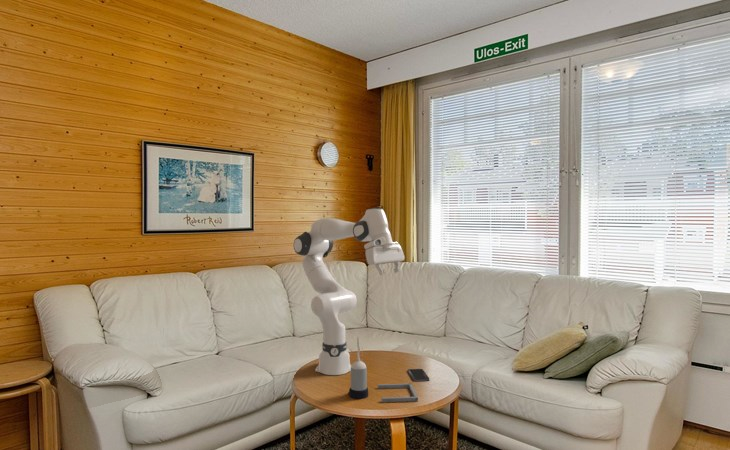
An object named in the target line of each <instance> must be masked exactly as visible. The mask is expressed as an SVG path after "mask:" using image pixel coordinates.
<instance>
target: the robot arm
mask: <svg viewBox="0 0 730 450" xmlns="http://www.w3.org/2000/svg"><path fill="white" fill-rule="evenodd" d="M389 228H390V227H389V221H388V219H387V214H386V212H385V210H384V209H383V208H381V207H371V208H368V209H366V210H365V214H364V215H363V216H362V218H360V219H359V221H357V222H351V221H347V220H342V219H340V218H339V219H338V218H334V217H333V218H330V217H328V218H327V217H326V218H321V219H320V218H319V219H316V220H315V221H313V223H312V224H311V228H310V231H309V232H307V231H304V232H302V234H299V235H298V236H296V237H295V238H294V240H293V249H294V251H295V253H296V254H297V255H299V256H304V257H303V259H302V260H301V261H302V262H301V264H302V267H303V271H304V273H305V275H306V276H305V277H307V279H308V281H309V283H310V285H311V287H312V288H313V290H314V291H315V292H317V293H319V294H318V295H316V296H314V297H313V298H312V299H311V303H310V309H311V311H312V313H313V314H314V315H315V316H317V317H318V319H319V321H320V323H321V326H322V340H323V341H322V344H321V348H322V351H321V352H320V353H319V355H318V358H319V359H318V365H317V366H316V368H315V370H314V371H315V373H316V372H317V373H321V374H323V375H326V376H339V375H345V374H347V373H349V372H351V366H352V364H351V360H350V353H349V351H348V350H347V347H348V345H347V340H346V339H347V338H346V336H347V335H346V334H347V333H346V330H347V329H346V326H345V324H344V323H342V322H341V321H340V319H339V317H338V316H339V314H345V313H349V312H350V311H352V310H354V309H355V308H356V307H357V303H358V301H357V299H358V298H357V296H356V294H355V293H354V292H353V291H351V290H349V289H346V288H345V287H343V286H342V285H341V284H340V283H339V282H338V281H337V280H335V279H334V276H333V275H332V274H331V273H330V271H329V269H328V267H327V265H326V264H325V263H324V260H323V258H326V257H328V255H329V254H330V253H331V251H332V250H333V248H334V241H338V240H343V239H348V238H353V237H354V239H355V240H356V241H358V242H367V243H365V244H364V246H363V247H364V250H365V259H366V262H367V265H368V266H375V268H376V270H377V271H378V273H379V275H380V276H381V275H382V276H383V275H384V274H385V273H386V272H385V269H383V268H382V265H386V264H394V268H393V270H394V273H395V274H396V273H400V266H401V265H400V264H401V262H403V261H405V258H406V257H405V254H404V251H403V249H402V246H401V245H400V243H399V242H397V241H393V238H392V234H391V231H390V229H389Z"/></svg>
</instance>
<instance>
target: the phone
mask: <svg viewBox="0 0 730 450" xmlns="http://www.w3.org/2000/svg"><path fill="white" fill-rule="evenodd" d="M407 373H408V375H409V376H410V378H411V380H412V382H414V381H415V382H429V381H430V377H429V376H428V374H427V373H426V372H425V370H424V369H423V368H411V369H410V368H409V369H407Z"/></svg>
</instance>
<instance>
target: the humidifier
mask: <svg viewBox="0 0 730 450" xmlns="http://www.w3.org/2000/svg"><path fill="white" fill-rule="evenodd" d="M356 339H357V340H356V341H357V351H356V358H357V360H356V361H354V362H352V364H351V371H350V387H349V391H348V393H347V394H348V396H349V398H351V399H354V400H364V399H367V398H368V397H369V388H368V387H367V383H368V379H367V378H368V377H367V375H368V372H367V365H366V363H365V362H363V360H361V357H360V350H361V348H362V350H364V349H363V347H361V348H360V336H357V338H356ZM363 353H364V352H363V351H362V353H361V355H363Z"/></svg>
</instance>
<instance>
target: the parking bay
mask: <svg viewBox="0 0 730 450" xmlns="http://www.w3.org/2000/svg"><path fill="white" fill-rule="evenodd" d="M377 389H379V390H380V389H381V390H383V389H409V391H410V393H411V395H412V396H402V397H400V396H398V397H397V396H395V397H394V396H393V397H381V400H380V401H381V403H403V402H404V403H405V402H407V401H408V402H409V403H410V402H418V401H419V397H418V395H417V392H416V391H415V389H414V387H413V385H412V383H383V384H381V383H380V384H379V383H378V384H377Z"/></svg>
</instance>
